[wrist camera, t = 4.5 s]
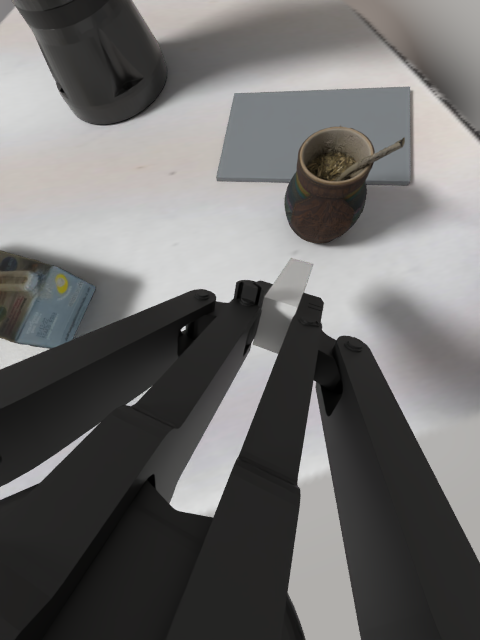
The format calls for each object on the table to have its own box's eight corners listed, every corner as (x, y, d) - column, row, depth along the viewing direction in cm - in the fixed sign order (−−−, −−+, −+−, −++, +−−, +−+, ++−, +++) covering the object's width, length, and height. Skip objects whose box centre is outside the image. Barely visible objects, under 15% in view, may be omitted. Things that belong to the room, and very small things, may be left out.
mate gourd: (292, 187, 27) (303, 80, 18) (363, 198, 26) (417, 88, 16) (274, 243, 26) (274, 160, 16) (348, 259, 24) (397, 178, 15)
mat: (235, 97, 32) (234, 93, 31) (407, 91, 28) (409, 86, 28) (217, 180, 29) (216, 177, 28) (407, 185, 25) (410, 181, 25)
